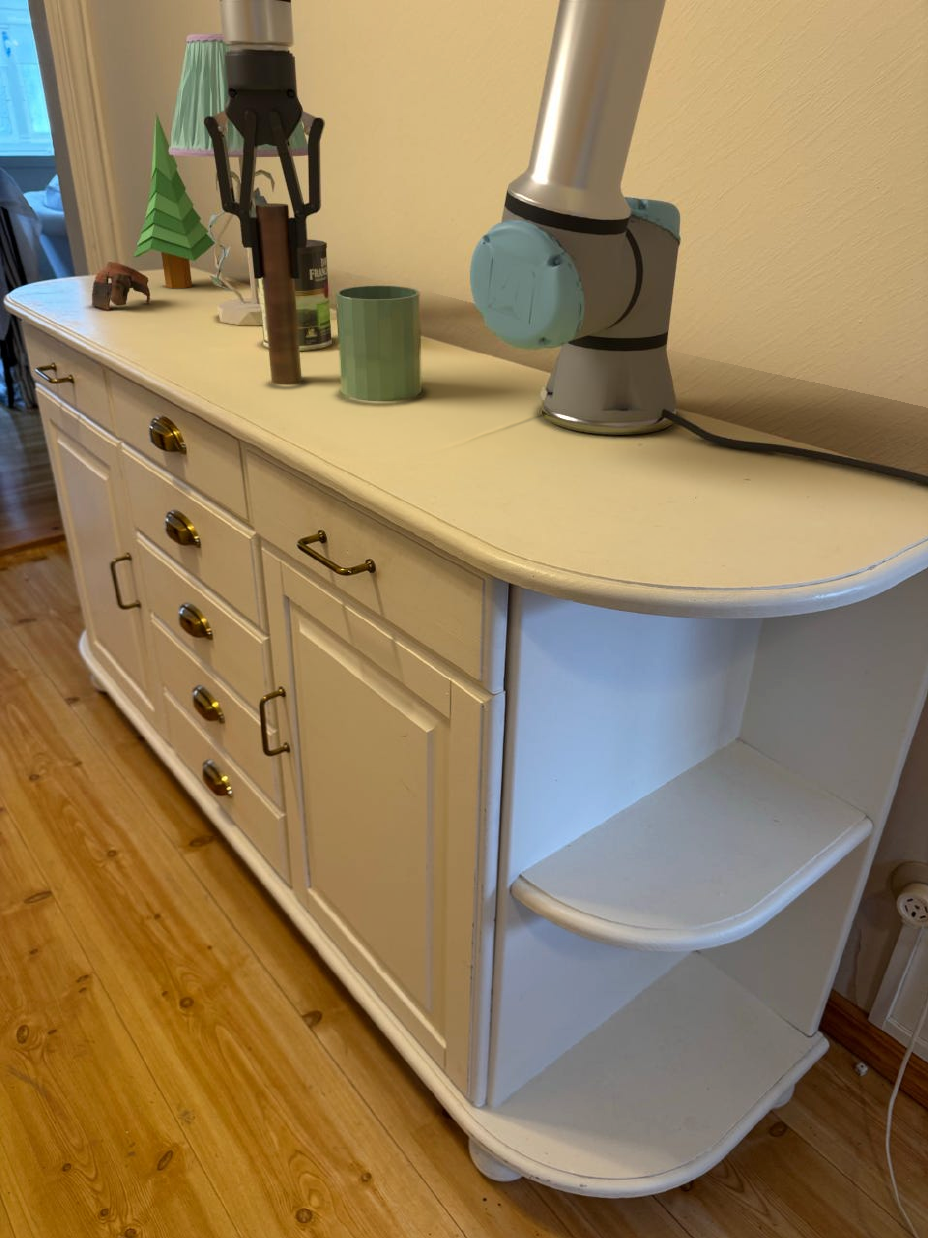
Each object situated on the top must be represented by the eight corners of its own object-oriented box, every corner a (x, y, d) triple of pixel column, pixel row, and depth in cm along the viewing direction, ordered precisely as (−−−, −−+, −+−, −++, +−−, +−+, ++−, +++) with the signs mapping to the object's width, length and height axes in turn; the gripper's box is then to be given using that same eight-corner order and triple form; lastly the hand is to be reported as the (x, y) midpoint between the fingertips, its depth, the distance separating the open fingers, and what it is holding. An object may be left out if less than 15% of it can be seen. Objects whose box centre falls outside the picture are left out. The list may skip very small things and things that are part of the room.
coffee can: (341, 338, 142) (336, 239, 135) (319, 353, 133) (312, 248, 126) (278, 334, 144) (269, 237, 137) (251, 349, 135) (241, 245, 128)
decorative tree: (219, 290, 177) (199, 112, 163) (134, 293, 174) (106, 111, 160) (220, 279, 189) (201, 112, 174) (140, 281, 186) (114, 111, 171)
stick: (308, 383, 118) (295, 204, 108) (284, 389, 116) (269, 206, 106) (289, 378, 120) (274, 202, 110) (265, 384, 118) (248, 204, 108)
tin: (437, 393, 115) (436, 292, 109) (381, 409, 108) (377, 303, 103) (381, 379, 120) (378, 282, 115) (325, 394, 114) (318, 292, 108)
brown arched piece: (85, 306, 165) (99, 261, 164) (139, 327, 169) (153, 284, 169) (89, 299, 154) (103, 251, 154) (146, 322, 158) (160, 275, 158)
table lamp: (336, 308, 163) (321, 41, 144) (300, 333, 144) (278, 30, 125) (219, 303, 166) (189, 41, 146) (168, 328, 147) (126, 30, 128)
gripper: (339, 52, 104) (349, 271, 116) (186, 49, 103) (212, 271, 114) (335, 49, 98) (346, 281, 109) (173, 46, 97) (201, 281, 108)
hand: (277, 276), depth 112 cm, fingers closed on stick, 4 cm apart
